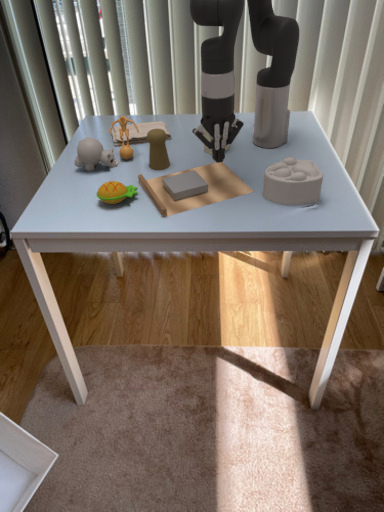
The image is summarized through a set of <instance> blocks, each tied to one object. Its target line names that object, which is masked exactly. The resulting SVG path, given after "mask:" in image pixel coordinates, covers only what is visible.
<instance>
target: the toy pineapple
mask: <svg viewBox="0 0 384 512" xmlns="http://www.w3.org/2000/svg"><path fill="white" fill-rule="evenodd" d="M138 189H139V188H138V187H137V186H134V185H133V184H130V185H127V186H126V185H125V184H124V183H122V182H120V181H116V180H109V181H107V182H105V183H104V182H103V184H101V185H100V186H99V187H98V189H97V192H96V197H97V198H98V199H99V200H100V201H101V202H103V203H105V204H107V205H108V204H110V205H117V204H118V203H121V202H123V201H125V199H126V198H133V196H135V195H138Z"/></svg>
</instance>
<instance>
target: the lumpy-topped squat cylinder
mask: <svg viewBox="0 0 384 512" xmlns="http://www.w3.org/2000/svg"><path fill="white" fill-rule="evenodd" d="M323 179H324V174H323V172H322V171H321V170H319V168H318V165H317V163H316V162H314V161H312V160H309V159H296V158H295V157H293V156H287V157H285V158H283V159H282V160H281V161H277V162H276V163H273V164H271V165H269V166H268V167H267V168H266V169H264V176H263V186H262V196H263V197H264V199H265V200H267V201H269V202H272V203H274V204H279V205H284V206H299V205H304V206H302V207H301V209H303V208H310V207H313V206H316V205H317V204H318V203H319V201H320V196H321V189H322V185H323ZM315 202H316V203H315ZM311 203H312V204H311ZM307 204H308V205H307ZM305 205H306V206H305Z"/></svg>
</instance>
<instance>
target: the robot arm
mask: <svg viewBox="0 0 384 512" xmlns="http://www.w3.org/2000/svg"><path fill="white" fill-rule="evenodd" d="M246 3H247V8H248V16H249V26H250V33H251V40H252V44H253V46H254V49H255V50H256V51H257V52H258V53H259V54H262V55H265V56H270V57H271V63H270V66H268V67H264V68H261V69H260V70H259V71H258V72H257V74H256V82H255V83H256V85H255V102H254V103H255V104H254V105H255V106H254V119H253V121H254V122H253V135H252V137H253V139H252V142H253V144H254V145H256V146H258V147H260V148H264V149H275V148H279V147H281V146H282V145H284V144H285V143H287V142H288V136H289V126H290V117H291V110H290V109H289V101H290V100H289V99H290V90H291V82H292V77H293V74H294V71H295V67H296V62H297V60H296V59H297V56H298V55H297V54H298V50H299V49H298V48H299V43H300V26H299V22H298V21H297V20H296V19H295V18H294V17H289V16H282V15H277V14H275V11H274V9H273V4H272V0H246ZM244 9H245V0H190V2H189V12H190V17H191V19H192V21H193V22H194V23H195V25H197V26H201V27H222V28H223V29H222V30H223V31H222V34H221V35H218V36H214V37H210V38H207V39H204V40H203V41H202V42H201V45H200V64H201V69H200V70H201V72H200V73H201V74H200V75H201V76H200V98H201V99H200V100H201V105H200V106H201V118H200V124H199V125H198V126H197V128H193V129H192V134H194V135H195V137H197V139H198V140H199V141H201V143H202V144H203V146H204V145H205V146H207V147H208V148H209V149H212V155H211V157H212V160H213V161H215V163H216V162H217V163H220V162H223V163H224V160H225V159H226V150H225V147H226V145H228V144H229V145H232V144H233V142H234V140H236V138H237V136H238V134H239V133H240V131H241V130H242V128H243V126H244V122H243V121H242V120H240V119H239V118H236V114H235V112H234V111H235V99H236V98H235V95H236V93H235V91H236V90H235V89H236V84H235V83H236V81H235V79H236V78H235V47H236V40H237V34H238V30H239V26H240V23H241V19H242V16H243V13H244ZM204 129H205V130H206V131H207V132H208V133H209V137H210V140H211V142H210V141H208V140H207V139H206V138H205V137H204V135H205V132H204Z"/></svg>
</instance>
